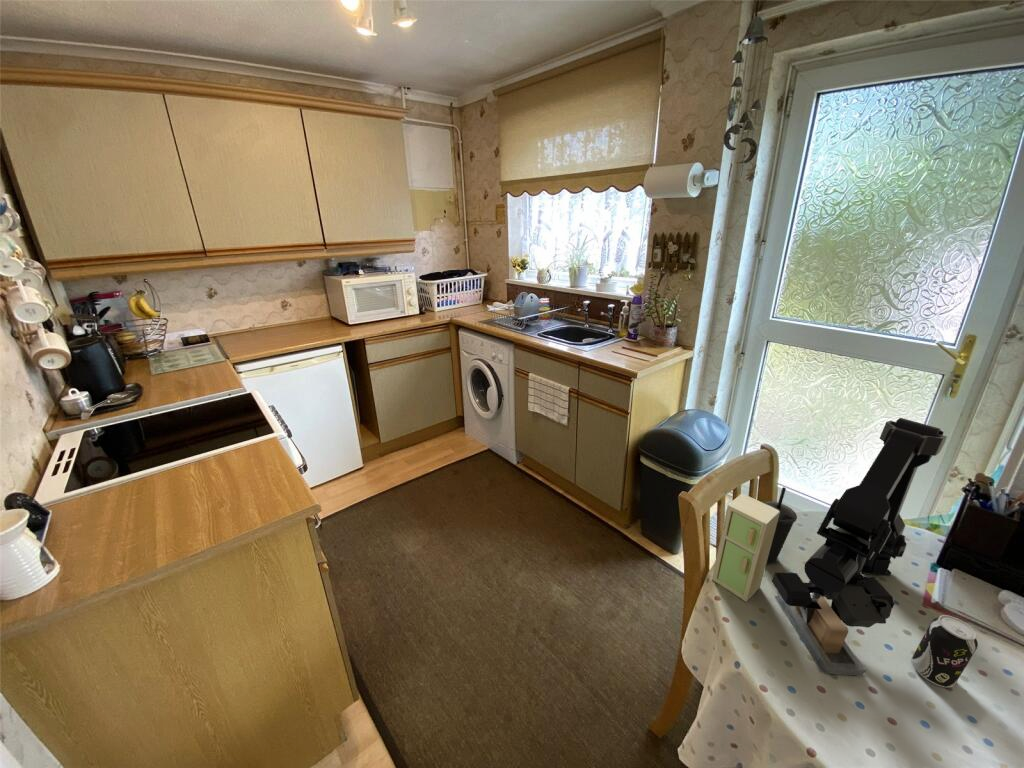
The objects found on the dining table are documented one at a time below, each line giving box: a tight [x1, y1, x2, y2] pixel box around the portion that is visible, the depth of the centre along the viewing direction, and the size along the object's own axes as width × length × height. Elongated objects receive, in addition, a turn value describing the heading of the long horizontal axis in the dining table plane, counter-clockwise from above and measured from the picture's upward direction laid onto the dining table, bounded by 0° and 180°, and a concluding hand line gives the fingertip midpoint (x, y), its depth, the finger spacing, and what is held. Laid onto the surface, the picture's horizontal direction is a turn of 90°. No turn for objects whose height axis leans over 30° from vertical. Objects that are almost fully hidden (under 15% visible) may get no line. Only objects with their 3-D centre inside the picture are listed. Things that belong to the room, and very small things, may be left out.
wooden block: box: [796, 597, 849, 653], centre depth 80 cm, size 9×3×6 cm, turn 176°
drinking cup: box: [761, 486, 798, 565], centre depth 96 cm, size 8×8×20 cm
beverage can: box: [911, 614, 979, 689], centre depth 72 cm, size 6×6×12 cm
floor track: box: [775, 591, 866, 677], centre depth 81 cm, size 17×7×2 cm, turn 176°
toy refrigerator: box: [711, 493, 780, 602], centre depth 89 cm, size 8×7×21 cm
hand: (818, 622), depth 81 cm, fingers open, 5 cm apart
